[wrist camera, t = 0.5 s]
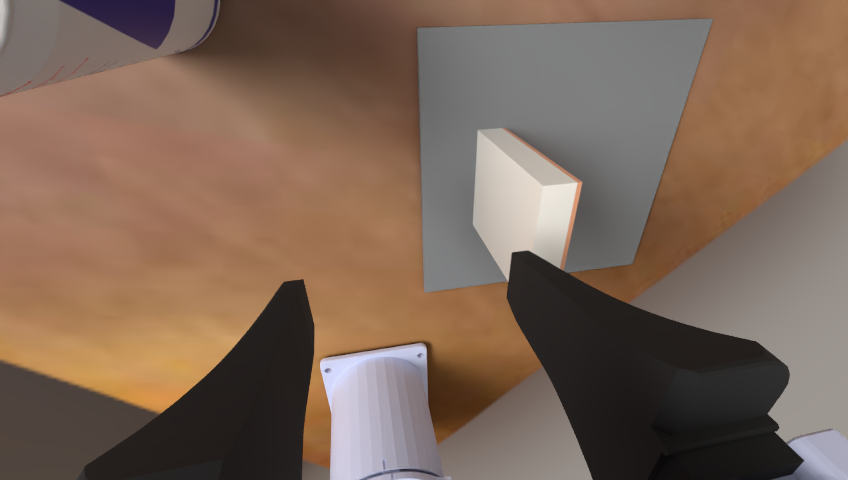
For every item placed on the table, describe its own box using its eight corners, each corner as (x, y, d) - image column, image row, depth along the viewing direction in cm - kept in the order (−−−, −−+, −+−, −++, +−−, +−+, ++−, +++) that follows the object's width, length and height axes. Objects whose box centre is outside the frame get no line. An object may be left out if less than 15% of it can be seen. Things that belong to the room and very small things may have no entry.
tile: (496, 221, 24) (556, 302, 17) (472, 224, 24) (524, 307, 17) (505, 127, 21) (582, 182, 14) (477, 129, 21) (543, 185, 14)
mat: (629, 261, 29) (632, 264, 28) (423, 289, 26) (425, 292, 26) (706, 18, 20) (713, 18, 20) (416, 27, 18) (418, 28, 18)
